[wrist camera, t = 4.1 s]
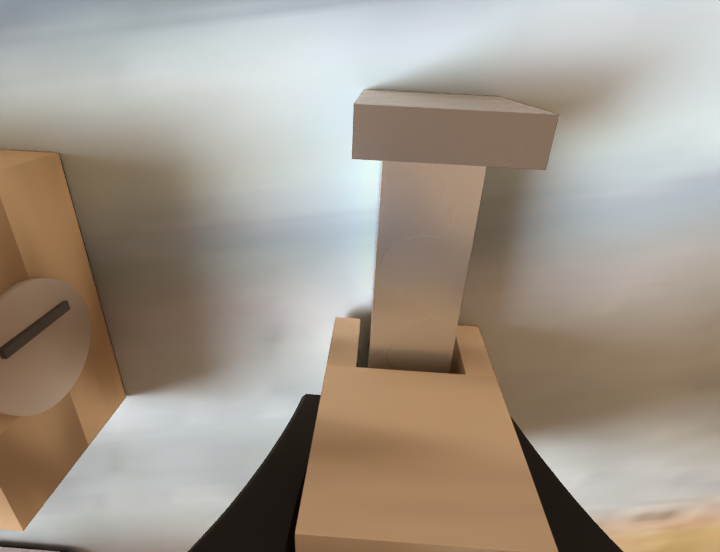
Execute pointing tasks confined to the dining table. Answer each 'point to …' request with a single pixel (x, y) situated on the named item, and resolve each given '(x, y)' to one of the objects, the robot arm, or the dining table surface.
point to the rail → (434, 208)
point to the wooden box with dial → (46, 338)
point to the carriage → (417, 459)
